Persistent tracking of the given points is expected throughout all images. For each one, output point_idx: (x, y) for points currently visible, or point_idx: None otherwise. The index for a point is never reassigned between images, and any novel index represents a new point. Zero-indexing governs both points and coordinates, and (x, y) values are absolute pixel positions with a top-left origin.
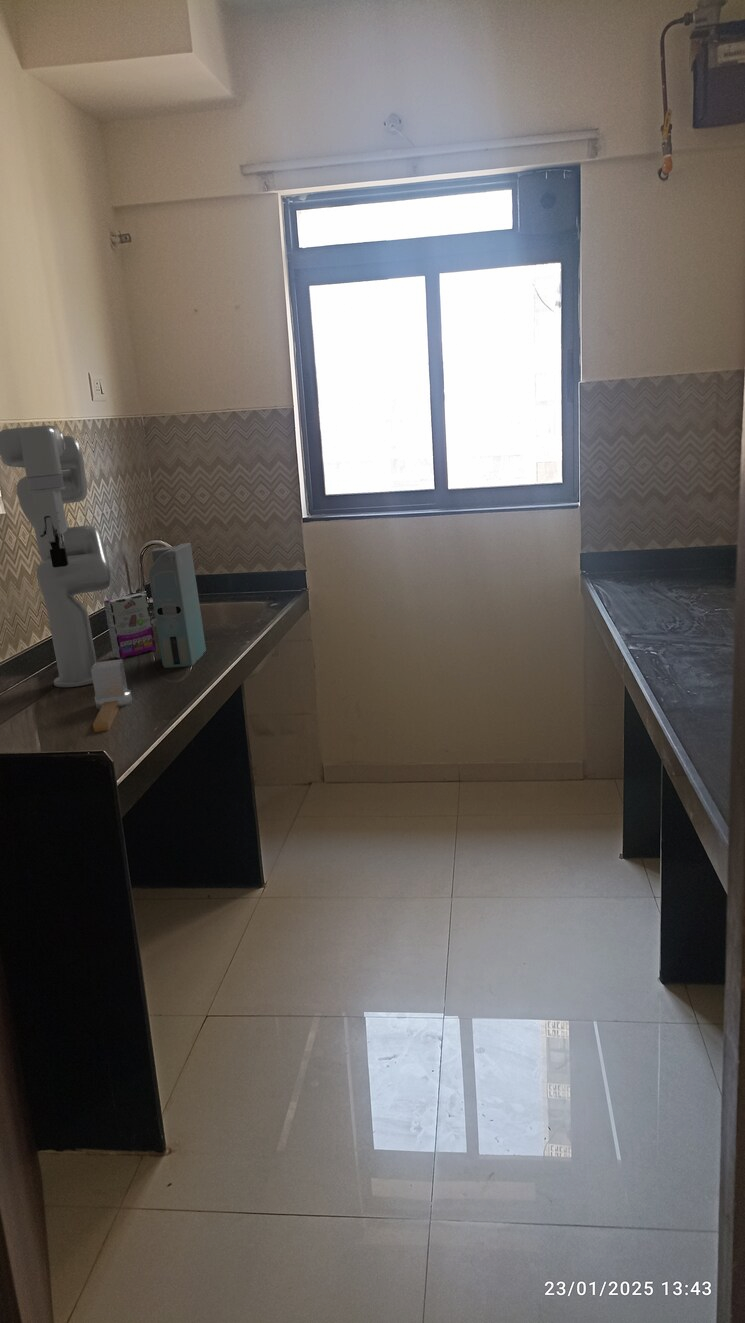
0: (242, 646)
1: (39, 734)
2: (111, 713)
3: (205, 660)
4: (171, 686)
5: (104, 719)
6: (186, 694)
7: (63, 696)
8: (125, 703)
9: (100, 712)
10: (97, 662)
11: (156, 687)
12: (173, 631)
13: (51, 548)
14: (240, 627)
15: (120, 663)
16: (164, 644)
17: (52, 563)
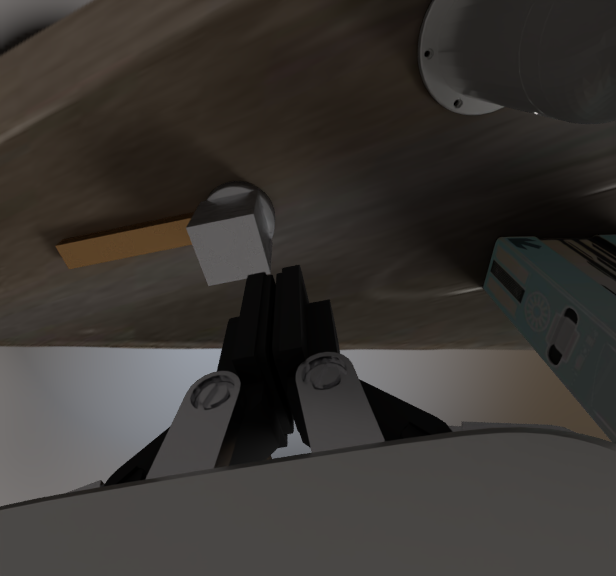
0: None
1: (36, 124)
2: (120, 258)
3: None
4: (338, 289)
5: (83, 258)
6: None
7: (336, 51)
8: None
9: (127, 234)
10: (252, 220)
11: (341, 263)
12: (528, 307)
13: (193, 401)
14: None
15: (231, 280)
16: (520, 269)
17: (246, 288)
